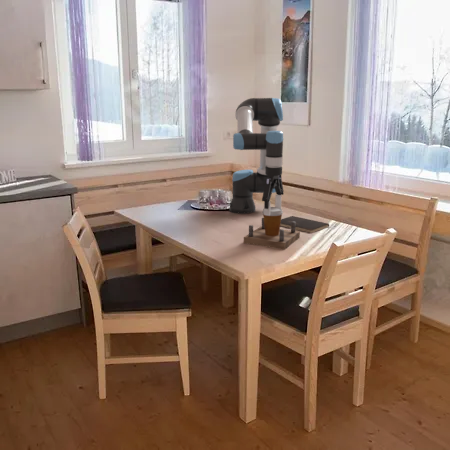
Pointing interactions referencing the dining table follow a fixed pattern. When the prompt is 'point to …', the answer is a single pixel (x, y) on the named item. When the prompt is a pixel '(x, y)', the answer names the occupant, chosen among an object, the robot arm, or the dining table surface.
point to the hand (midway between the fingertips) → (272, 211)
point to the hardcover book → (303, 224)
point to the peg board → (272, 237)
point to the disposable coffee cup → (272, 221)
